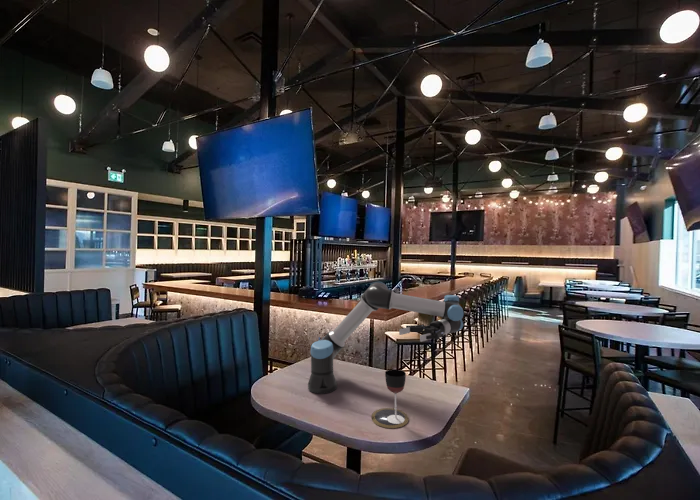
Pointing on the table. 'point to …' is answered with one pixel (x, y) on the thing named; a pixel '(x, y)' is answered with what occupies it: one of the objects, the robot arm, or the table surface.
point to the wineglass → (395, 390)
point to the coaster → (381, 416)
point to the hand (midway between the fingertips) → (409, 335)
